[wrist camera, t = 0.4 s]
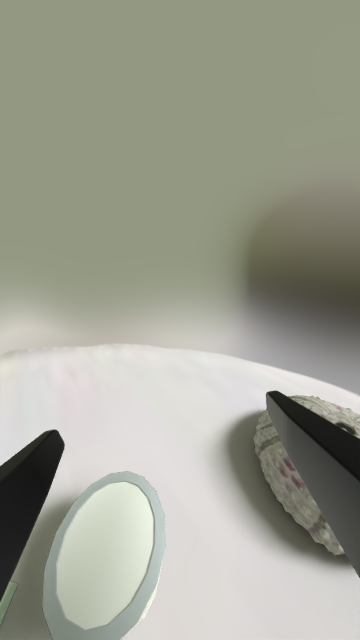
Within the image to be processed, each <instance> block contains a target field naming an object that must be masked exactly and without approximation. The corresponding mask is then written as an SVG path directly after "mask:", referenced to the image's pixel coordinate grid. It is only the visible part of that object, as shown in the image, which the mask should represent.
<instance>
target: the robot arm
mask: <svg viewBox="0 0 360 640" xmlns="http://www.w3.org/2000/svg"><path fill="white" fill-rule="evenodd" d="M266 404H267V411H268V414H269V416H270V418H271V420H272V422H273V425H274V427H275V429H276V431H277V433H278V435H279V437H280V440H281V442H282V444H283V446H284V448H285V450H286V452H287V454H288V456H289V458H290V460H291V461H292V463H293V465H294V466H295V468H296V470H297V472H298V473H299V475H300V477H301V478H302V480H303V482H304V484H305V485H306V487H307V489H308V490H309V492H310V494H311V496H312V497H313V499H314V501H315V502H316V504H317V506H318V508H319V509H320V511H321V513H322V514H323V516H324V518H325V520H326V521H327V523H328V525H329V526H330V528H331V530H332V532H333V533H334V535H335V537H336V538H337V540H338V542H339V543H340V545H341V547H342V549H343V550H344V552H345V554H346V555H347V557H348V559H349V561H350V562H351V564H352V566H353V567H354V569H355V571H356V573H357V574H358V576H359V578H360V438H358V437H356V436H354V435H353V434H351V433H349V432H348V431H346V430H344V429H342V428H341V427H339V426H337V425H335V424H334V423H332V422H330V421H329V420H327V419H325V418H323V417H322V416H320V415H318V414H316V413H315V412H313V411H311V410H310V409H308V408H306V407H304V406H303V405H301V404H299V403H298V402H296V401H294V400H292V399H291V398H289V397H287V396H285V395H284V394H282V393H280V392H279V391H270V392H267V393H266ZM64 446H65V444H64V441H63V439H62V438H61V436H60V434H59V432H58V431H57V430H49V431H46V432H44V433H43V434H41V435H40V436H39V437H37V438H36V439H35V440H33V441H32V442H31V443H30V444H28V445H27V446H26V447H24V448H23V449H22V450H21V451H19V452H18V453H17V454H15V455H14V456H13V457H12V458H10V459H9V460H8V461H6V462H5V463H4V464H2V465H1V466H0V602H1V600H2V598H3V596H4V593H5V591H6V589H7V586H8V584H9V582H10V580H11V577H12V575H13V573H14V570H15V568H16V566H17V564H18V561H19V559H20V557H21V554H22V552H23V550H24V548H25V545H26V543H27V541H28V539H29V536H30V534H31V532H32V529H33V527H34V525H35V523H36V520H37V518H38V516H39V513H40V511H41V509H42V507H43V504H44V502H45V500H46V497H47V495H48V492H49V490H50V487H51V484H52V482H53V479H54V476H55V473H56V470H57V468H58V465H59V462H60V459H61V456H62V453H63V451H64Z"/></svg>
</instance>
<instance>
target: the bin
mask: <svg viewBox="0 0 360 640" xmlns="http://www.w3.org/2000/svg"><path fill="white" fill-rule="evenodd" d="M17 586H18V584H16V583H14V582H12V581H10V582H9V584H8V586H7V589H6V591H5V593H4V596H3V598H2V600H1V602H0V624H1V622H2V620H3V617H4V615H5V613H6V611H7V608H8V606H9V604H10V602H11V599H12V597H13V595H14V593H15V590H16V588H17Z"/></svg>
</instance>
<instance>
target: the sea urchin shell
mask: <svg viewBox="0 0 360 640" xmlns="http://www.w3.org/2000/svg"><path fill="white" fill-rule="evenodd" d="M288 397H289V398H291V399H292V400H294V401H296V402H298V403H299V404H301V405H303V406H304V407H306V408H308V409H310V410H311V411H313V412H315V413H316V414H318V415H320V416H322V417H323V418H325V419H327V420H329V421H330V422H332V423H334V424H335V425H337V426H339V427H341V428H342V429H344V430H346V431H348V432H349V433H351V434H353V435H354V436H356V437H358V438H360V415H359V414H356V413H354V412H353V411H352V410H351V409H350V408H346V409H345V408H343V407H340V406H338V405H335V404H332V403H330V402H327V401H324V400H321V399H320V398H319V397H316V398H315V397H313V396H311V397H307V396H303V395H302V396H297V395H296V396H288ZM262 413H263V414H262V416H261V417H260V418H259V419H258V425H257V426H256V430H257V432H256V433H255V434H254V438H253V440H254V442H255V443H254V444H255V451H254V452H255V453H256V455H257V456H258V458H259V459H260V460H261V467H262V472H263V473H264V476H265V480H266V481H267V482H268V483H269V484H270V486H271V489H272V491H273V493H274V494H275V496H276V499H277V500H278V501H279V502H281V503H282V505H283V508H284V510H285V511H286V512H288V513H290V514H291V515H292V517H293V518H294V520H295V521H296V522H297V523H298V524H300V525H302V526H303V527H304V528H305V529H306V530H307V531H308V532H309V533H310V535H311V537H312V538H313V540H314V542H315V543H321V544H323V545H325V547H326V548H327V549H328V551H329V552H332V553H333V554H334V555H338V554H345V552H344V550H343V549H342V547H341V545H340V543H339V542H338V540H337V538H336V537H335V535H334V533H333V532H332V530H331V528H330V526H329V525H328V523H327V521H326V520H325V518H324V516H323V514H322V513H321V511H320V509H319V508H318V506H317V504H316V502H315V501H314V499H313V497H312V496H311V494H310V492H309V490H308V489H307V487H306V485H305V484H304V482H303V480H302V478H301V477H300V475H299V473H298V472H297V470H296V468H295V466H294V465H293V463H292V461H291V460H290V458H289V456H288V454H287V452H286V450H285V448H284V446H283V444H282V442H281V440H280V437H279V435H278V433H277V431H276V429H275V427H274V425H273V422H272V420H271V418H270V416H269V414H268V411H267V409H266V411H263V412H262ZM345 555H346V554H345Z"/></svg>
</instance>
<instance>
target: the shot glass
mask: <svg viewBox="0 0 360 640" xmlns="http://www.w3.org/2000/svg"><path fill="white" fill-rule="evenodd" d="M165 546H166V542H165V514H164V511H163V508H162V505H161V502H160V500H159V497H158V494H157V491H156V490H155V489H154V488H153V486H152V485H151V484H150V483H149V482H148V481H147V480H146V479H145V478H144V477H143V476H140V475H137V474H135V473H132V472H129V471H125V472H118V473H111V474H109V475H107V476H105V477H103V478H102V479H100V480H98V481H97V482H95V483H93V484H91V485H90V486H89V487H88V488H87V490H86V491H85V492H84V493H83V494H82V495H81V496H80V497H79V498H78V499H77V500H76V501H75V502H74V503H73V504H72V506H71V508H70V509H69V511H68V513H67V515H66V516H65V518H64V520H63V521H62V523H61V525H60V527H59V528H58V530H57V532H56V534H55V537H54V540H53V543H52V546H51V550H50V553H49V556H48V559H47V562H46V565H45V568H44V583H43V602H42V610H43V613H44V616H45V619H46V622H47V625H48V628H49V631H50V634H51V637H52V640H122V639H123V638H124V637H125V636H126V635H127V634H128V633H129V632H130V631H131V630H132V629H133V628H134V627H135V626H136V625H137V624H138V623H139V622H140V621H141V620H142V619H143V618H144V617H145V615H146V613H147V611H148V609H149V607H150V605H151V603H152V601H153V599H154V597H155V595H156V591H157V586H158V582H159V577H160V572H161V567H162V562H163V557H164V551H165Z"/></svg>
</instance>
